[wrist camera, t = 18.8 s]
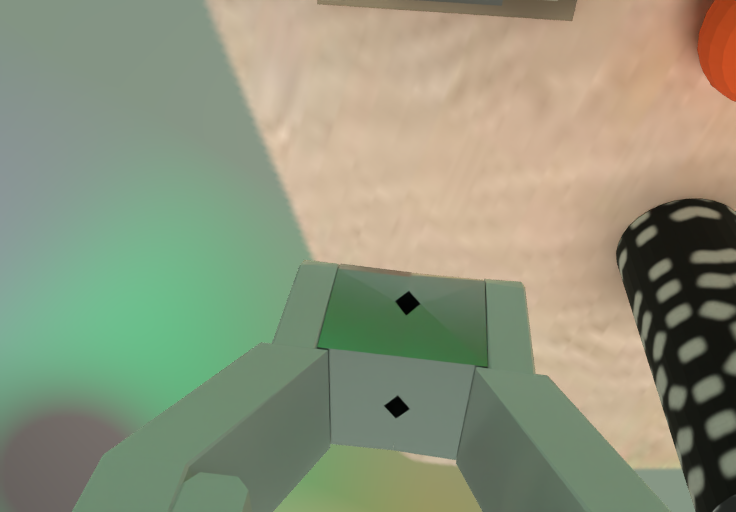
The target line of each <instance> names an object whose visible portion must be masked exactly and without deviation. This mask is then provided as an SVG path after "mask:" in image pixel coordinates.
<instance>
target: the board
mask: <svg viewBox="0 0 736 512" xmlns="http://www.w3.org/2000/svg"><path fill="white" fill-rule="evenodd" d="M576 2H577V0H317V4H323V5H338V6H353V7H369V8H384V9H399V10H414V11H429V12H444V13H459V14H474V15H489V16H504V17H519V18H534V19H550V20H565V21H572V19H573V15H574V11H575V6H576Z"/></svg>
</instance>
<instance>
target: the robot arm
mask: <svg viewBox="0 0 736 512" xmlns="http://www.w3.org/2000/svg"><path fill="white" fill-rule="evenodd" d="M330 444H338V445H348V446H358V447H368V448H378V449H387V450H396V451H402V452H408V453H414V454H421V455H427V456H434V457H440V458H447V459H453V460H457V461H456V464H457V466H458V468H459V469H460V471H461V473H462V475H463V477H464V478H465V480H466V482H467V484H468V486H469V487H470V489H471V491H472V493H473V495H474V497H475V498H476V500H477V502H478V504H479V506H480V508H481V509H482V511H483V512H671V511H670V510H669V509H668V507H667V506H666V505H665V504H664V503H663V502H662V501H661V500H660V499H659V498H658V497H657V495H656V494H655V493H654V492H653V491H652V490H651V489H650V488H649V487H648V485H647V484H646V483H645V482H644V481H643V480H642V479H641V478H640V477H639V476H638V474H637V473H636V472H635V471H634V470H633V469H632V468H631V467H630V466H629V465H628V463H627V462H626V461H625V460H624V459H623V458H622V457H621V456H620V455H619V454H618V452H617V451H616V450H615V449H614V448H613V447H612V446H611V445H610V444H609V443H608V442H607V440H606V439H605V438H604V437H603V436H602V435H601V434H600V433H599V432H598V431H597V429H596V428H595V427H594V426H593V425H592V424H591V423H590V422H589V421H588V420H587V418H586V417H585V416H584V415H583V414H582V413H581V412H580V411H579V410H578V409H577V407H576V406H575V405H574V404H573V403H572V402H571V401H570V400H569V399H568V398H567V396H566V395H565V394H564V393H563V392H562V391H561V390H560V389H559V388H558V387H557V386H556V384H555V383H554V382H553V381H552V380H551V379H550V378H549V377H548V376H546V375H538V374H535V366H534V357H533V349H532V341H531V333H530V325H529V317H528V309H527V301H526V292H525V286H524V285H523V284H522V282H516V281H503V280H491V279H484V280H480V279H470V278H460V277H450V276H439V275H429V274H419V273H411V272H403V271H395V270H387V269H379V268H371V267H363V266H355V265H347V264H340V265H339V264H335V263H327V262H319V261H310V260H304V261H303V263H302V264H301V265H300V266H299V268H298V271H297V274H296V277H295V280H294V283H293V285H292V288H291V291H290V294H289V297H288V299H287V303H286V305H285V308H284V311H283V314H282V316H281V319H280V322H279V325H278V328H277V331H276V333H275V336H274V339H273V342H272V344H270V343H259V344H258V345H257V346H255V347H254V348H252V349H251V350H250V351H248V352H247V353H245V354H244V355H243V356H241V357H240V358H238V359H237V360H236V361H234V362H233V363H231V364H230V365H229V366H227V367H226V368H224V369H223V370H221V371H220V372H219V373H217V374H216V375H214V376H213V377H212V378H210V379H209V380H208V381H206V382H205V383H203V384H202V385H200V386H199V387H198V388H197V389H195V390H193V391H192V392H191V393H189V394H188V395H187V396H185V397H184V398H182V399H181V400H180V401H178V402H177V403H175V404H174V405H172V406H171V407H170V408H168V409H167V410H165V411H164V412H163V413H161V414H160V415H158V416H157V417H156V418H154V419H153V420H151V421H150V422H148V423H147V424H146V425H144V426H143V427H141V428H140V429H139V430H137V431H136V432H134V433H133V434H132V435H130V436H129V437H127V438H126V439H125V440H123V441H122V442H120V443H119V444H118V445H116V446H115V447H113V448H112V449H111V450H109V451H108V452H107V453H105V454H104V455H103V456H102V458H101V460H100V461H99V463H98V465H97V467H96V469H95V470H94V472H93V474H92V476H91V478H90V480H89V482H88V483H87V485H86V487H85V489H84V490H83V493H82V494H81V496H80V498H79V500H78V501H77V503H76V505H75V507H74V509H73V510H72V512H273V511H274V510H275V509H276V508H277V506H278V505H279V504H280V503H281V502H282V501H283V500H284V499H285V498H286V496H287V495H288V494H289V493H290V492H291V491H292V490H293V489H294V487H295V486H296V485H297V484H298V483H299V482H300V481H301V480H302V478H303V477H304V476H305V475H306V474H307V473H308V472H309V470H311V468H312V467H313V466H314V465H315V464H316V463H317V462H318V461H319V459H320V458H321V457H322V456H323V455H324V454H325V453H326V452H327V450H328V449H329V448H330ZM393 445H394V447H393Z"/></svg>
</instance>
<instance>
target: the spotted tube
mask: <svg viewBox="0 0 736 512" xmlns="http://www.w3.org/2000/svg"><path fill="white" fill-rule="evenodd" d="M616 257H617V265H618V268H619V271H620V274H621V277H622V280H623V284H624V287H625V290H626V293H627V296H628V299H629V303H630V306H631V309H632V312H633V315H634V318H635V322H636V325H637V328H638V331H639V334H640V337H641V341H642V344H643V347H644V350H645V353H646V356H647V359H648V363H649V366H650V369H651V372H652V375H653V378H654V382H655V385H656V388H657V391H658V394H659V397H660V401H661V404H662V407H663V410H664V413H665V416H666V420H667V423H668V426H669V429H670V432H671V435H672V439H673V442H674V445H675V448H676V451H677V454H678V458H679V461H680V464H681V467H682V470H683V473H684V477H685V480H686V483H687V486H688V489H689V492H690V496H691V499H692V502H693V505H694V508H695V511H696V512H736V212H735V211H734V210H732V209H731V208H729V207H728V206H726V205H724V204H721V203H718V202H715V201H710V200H705V199H685V200H679V201H673V202H670V203H667V204H663V205H661V206H658V207H656V208H654V209H652V210H650V211H648V212H647V213H645V214H644V215H642V216H641V217H639V218H638V219H637V220H636V221H634V222H633V223H632V224H631V225H630V226H629V227H628V229H627V230H626V231H625V233H624V234H623V236H622V238H621V240H620V242H619V244H618V248H617V253H616Z"/></svg>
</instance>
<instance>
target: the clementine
mask: <svg viewBox="0 0 736 512" xmlns="http://www.w3.org/2000/svg"><path fill="white" fill-rule="evenodd" d="M697 50H698V55H699V60H700V65H701V67H702V70H703V72H704V74H705V76H706V77H707V79H708V81H709V82H710V84H711V85H712V86H713V87H714V88H715V89H717V90H718V91H719V92H721V93H722V94H723V95H724V96H726V97H727V98H729V99H730V100H733V101H735V102H736V0H715V1H714V2H713V4H712V5H711V7H710V8H709V10H708V11H707V13H706V16H705V18H704V21H703V24H702V26H701V29H700V32H699V39H698V49H697Z"/></svg>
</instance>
